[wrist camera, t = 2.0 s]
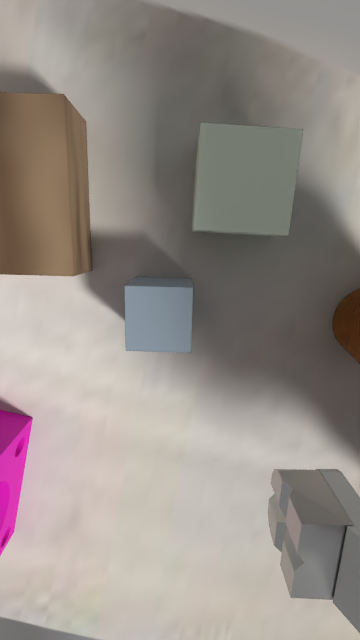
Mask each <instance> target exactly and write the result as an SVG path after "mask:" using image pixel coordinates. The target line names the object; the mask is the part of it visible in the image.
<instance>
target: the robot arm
mask: <svg viewBox="0 0 360 640" xmlns="http://www.w3.org/2000/svg"><path fill="white" fill-rule="evenodd" d="M271 485H272V488H273V491H274V495H273V496H272V497H271V498H270V499H269V506H268V518H269V527H270V532H271V536H272V540H273V543H274V546H275V547H276V548H277V549H279V550H280V551H281V552H282V555H281V563H280V566H281V569H282V572H283V575H284V578H285V581H286V584H287V587H288V590H289V594H290V597H291V598H308V599H327V600H333V603H334V604H335V605H336V607H337V608H338V609H339V610H340V611H341V612H342V613H343V615H344V616H345V617H346V618H347V619H348V620H349V621H350V622H351V624H352V625H353V626H354V627H355V628H356V629H357V630H358V632H359V633H360V497H359V496H358V494H357V493H356V492H355V490H354V489H353V487H352V486H351V485H350V483H349V482H348V480H347V479H346V478H345V476H344V475H343V473H342V472H341V471H339V470H338V469H316V470H295V469H274V471H273V473H272V479H271Z"/></svg>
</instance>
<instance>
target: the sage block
mask: <svg viewBox="0 0 360 640" xmlns="http://www.w3.org/2000/svg"><path fill="white" fill-rule="evenodd" d="M302 136H303V129H293V128H278V127H262V126H247V125H232V124H217V123H202V122H201V123H200V130H199V136H198V142H197V155H196V170H195V185H194V200H193V215H192V230H191V231H194V232H210V233H226V234H242V235H258V236H289V229H290V222H291V215H292V208H293V200H294V193H295V186H296V179H297V172H298V164H299V157H300V150H301V143H302Z"/></svg>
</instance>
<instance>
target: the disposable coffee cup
mask: <svg viewBox="0 0 360 640" xmlns="http://www.w3.org/2000/svg"><path fill="white" fill-rule="evenodd" d="M333 331H334V334H335V337H336V339H337V340H338V342H339V343H340V344H341V345H342V346H343V347H344V348H345V349H346V350H347V351H348V352H349V353H350V354H351V355H352V356H353V357H354V358H355V359H356V360H357V361H358V362H359V363H360V289H359V290H357V291H354V292H352V293H351V294H349V295H348V296H347V297H345V298H344V299H343V300H342V302H341V303H340V304H339V306H338V307H337V309H336V311H335V314H334V317H333Z"/></svg>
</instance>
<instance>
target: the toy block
mask: <svg viewBox="0 0 360 640" xmlns="http://www.w3.org/2000/svg"><path fill="white" fill-rule="evenodd" d="M32 419H33V417H28V416H24V415H20V414H15V413H11V412H7V411H2V410H0V555H1V553H2V552H3V550H4V548H5V546H6V545H7V543H8V541H9V540H10V538H11V536H12V534H13V533H14V528H15V522H16V516H17V510H18V504H19V497H20V491H21V485H22V479H23V473H24V467H25V461H26V455H27V449H28V443H29V437H30V431H31V425H32Z"/></svg>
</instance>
